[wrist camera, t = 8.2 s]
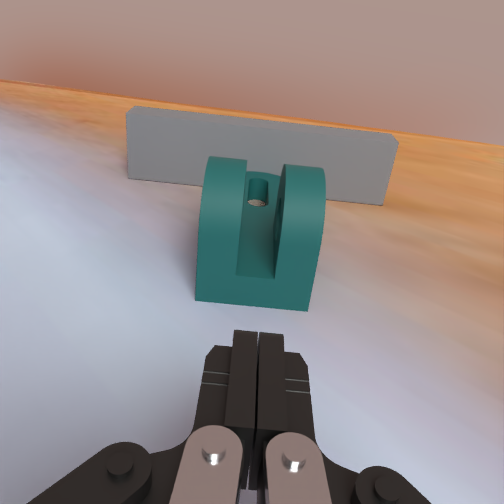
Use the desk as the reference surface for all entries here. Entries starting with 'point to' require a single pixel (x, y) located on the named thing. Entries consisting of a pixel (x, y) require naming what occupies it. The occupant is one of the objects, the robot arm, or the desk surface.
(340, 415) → the desk surface
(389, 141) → the board
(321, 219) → the bracket
